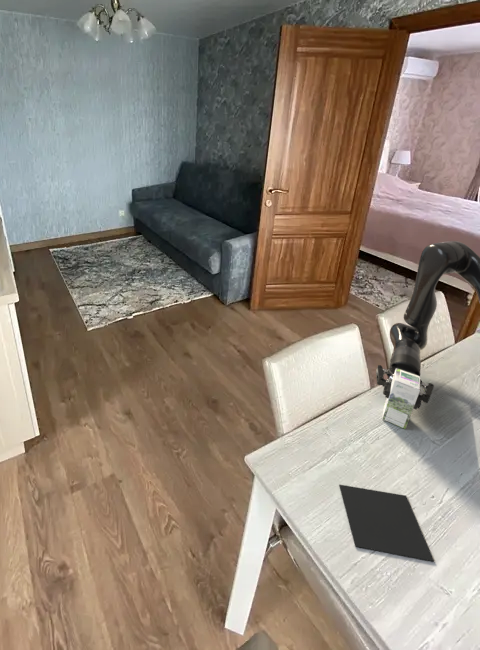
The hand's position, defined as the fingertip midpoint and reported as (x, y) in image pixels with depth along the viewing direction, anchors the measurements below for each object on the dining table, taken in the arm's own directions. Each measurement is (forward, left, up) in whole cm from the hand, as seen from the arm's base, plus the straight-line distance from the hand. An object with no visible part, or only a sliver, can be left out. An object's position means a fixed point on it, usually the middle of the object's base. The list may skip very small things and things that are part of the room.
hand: (401, 400), depth 90 cm
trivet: (+12, +26, -8) cm, 30 cm away
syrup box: (-1, -2, -9) cm, 9 cm away
